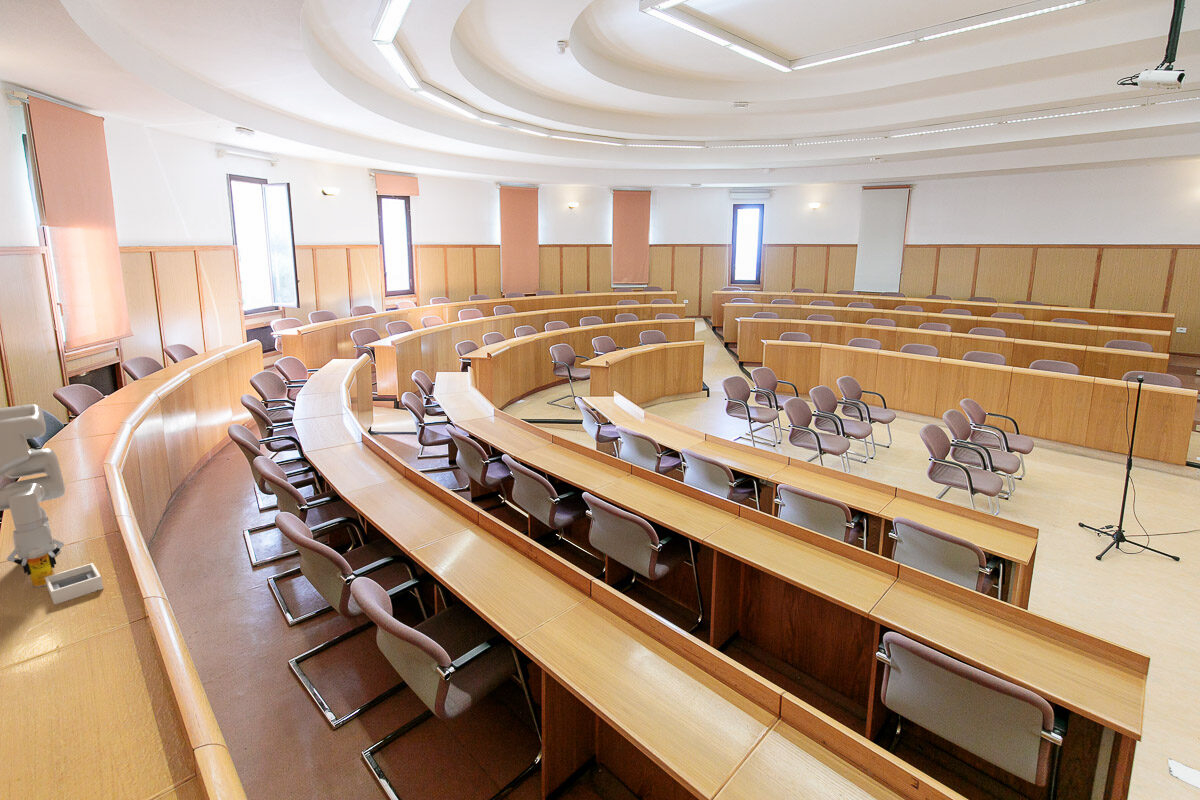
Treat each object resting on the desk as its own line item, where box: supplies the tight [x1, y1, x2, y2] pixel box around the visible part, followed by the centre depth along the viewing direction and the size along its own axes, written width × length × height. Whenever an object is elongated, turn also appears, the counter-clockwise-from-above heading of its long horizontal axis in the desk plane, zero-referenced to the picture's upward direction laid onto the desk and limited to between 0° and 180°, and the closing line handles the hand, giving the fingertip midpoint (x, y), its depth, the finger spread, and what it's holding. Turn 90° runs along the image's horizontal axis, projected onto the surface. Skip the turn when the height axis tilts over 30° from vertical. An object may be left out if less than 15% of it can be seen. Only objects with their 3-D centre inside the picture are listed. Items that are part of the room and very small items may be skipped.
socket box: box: [45, 562, 104, 605], centre depth 221 cm, size 14×14×5 cm
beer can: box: [27, 548, 54, 588], centre depth 223 cm, size 6×6×15 cm
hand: (40, 569), depth 224 cm, fingers closed on beer can, 6 cm apart
